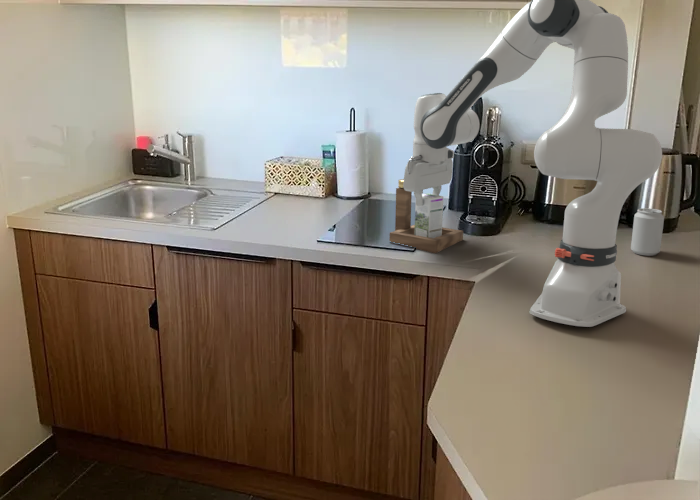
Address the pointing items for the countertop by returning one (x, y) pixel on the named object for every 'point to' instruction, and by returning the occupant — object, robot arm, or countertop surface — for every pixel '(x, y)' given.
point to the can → (647, 231)
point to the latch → (400, 183)
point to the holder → (406, 231)
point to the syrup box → (429, 216)
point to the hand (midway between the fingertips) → (427, 203)
